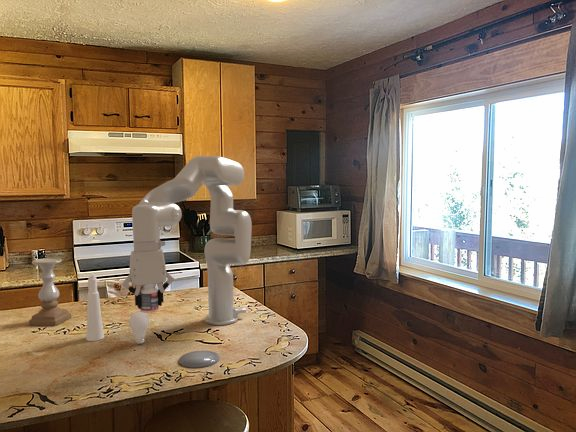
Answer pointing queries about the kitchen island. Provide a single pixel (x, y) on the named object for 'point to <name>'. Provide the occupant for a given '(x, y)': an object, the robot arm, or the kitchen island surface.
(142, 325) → the light bulb
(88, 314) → the cosmetic bottle
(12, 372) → the kitchen island surface
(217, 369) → the kitchen island surface
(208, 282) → the robot arm
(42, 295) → the candle holder
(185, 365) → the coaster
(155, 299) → the pill bottle
